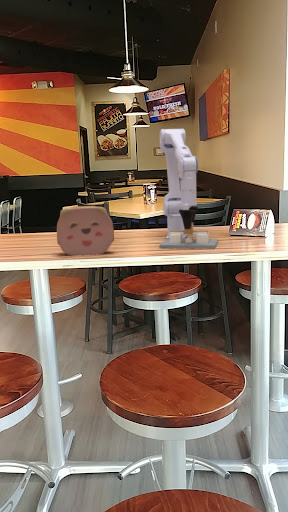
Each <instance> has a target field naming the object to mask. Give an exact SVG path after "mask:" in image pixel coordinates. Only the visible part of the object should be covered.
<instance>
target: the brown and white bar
mask: <svg viewBox="0 0 288 512" xmlns="http://www.w3.org/2000/svg"><path fill="white" fill-rule="evenodd" d="M208 233H209V230H194V225H193V222H192V224H191V229H185V228H184V231H170V235H184V234H188V235H194V236H196V235H207V234H208Z"/></svg>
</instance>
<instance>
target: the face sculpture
mask: <svg viewBox="0 0 288 512" xmlns="http://www.w3.org/2000/svg"><path fill="white" fill-rule="evenodd" d="M56 240H57V241H56V242H57V244H58V246H59V248H60V249H61V251H62V252H63V253H65V254H66V255H68V256H70V257H77V256H76V255H81V256H92V255H93V256H94V255H95V254H98V255H103V254H105V253H106V252H107V251H108V250H109V248H110V247H111V246H112V244H113V242H114V241H115V230H114V224H113V220H112V218H111V217H110V216H109V214H108V212H107V209H106V208H105V207H102V206H96V205H83V206H82V205H81V206H79V205H78V206H77V205H76V206H73V207H65V208H63V209H61V210H60V214H59V218H58V220H57V224H56Z"/></svg>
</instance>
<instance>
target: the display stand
mask: <svg viewBox="0 0 288 512" xmlns="http://www.w3.org/2000/svg"><path fill="white" fill-rule="evenodd" d="M195 236H196V238H194V237H193V236H186V237H185V238H182V235H170V238H165V240H163V241H162V242H161V243H160V244H159V249H182V248H215V249H216V247H217V244H218V243H219V239H218V238H210V233H209V232H208V234H207V235H195Z"/></svg>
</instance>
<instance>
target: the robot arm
mask: <svg viewBox="0 0 288 512" xmlns="http://www.w3.org/2000/svg"><path fill="white" fill-rule="evenodd" d="M186 135H187V134H186V130H185V129H184V128H182V127H181V128H161V130H160V131H159V148H160V152H162V153H164V156H165V161H166V162H165V163H166V171H167V174H166V175H167V184H168V192H167V194H166V195H164V197H163V200H162V212H163V214H164V216H166V217H167V220H166V221H167V223H166V224H167V236H165V237H164V238H165V239H170V231H184V228H185V229H191V224H192V222H193V226H195V225H194V224H195V219H196V214H197V211H198V209H199V207H198V206H197V205H198V201H197V173H198V170H199V159H198V157H197V156H195V155H193V154H192V152H191V150H190V148H189V147H188V146H187V145H186V141H187V140H186V139H187V136H186ZM188 235H189V234H184V235H182V239H185V238H186V237H188Z"/></svg>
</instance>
